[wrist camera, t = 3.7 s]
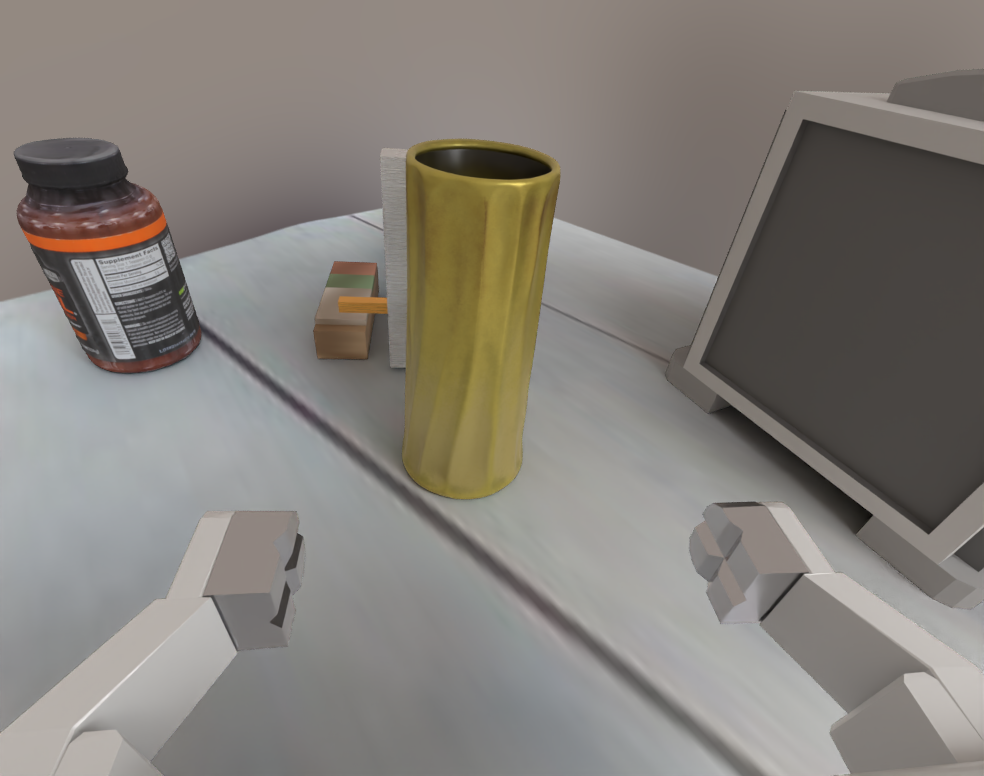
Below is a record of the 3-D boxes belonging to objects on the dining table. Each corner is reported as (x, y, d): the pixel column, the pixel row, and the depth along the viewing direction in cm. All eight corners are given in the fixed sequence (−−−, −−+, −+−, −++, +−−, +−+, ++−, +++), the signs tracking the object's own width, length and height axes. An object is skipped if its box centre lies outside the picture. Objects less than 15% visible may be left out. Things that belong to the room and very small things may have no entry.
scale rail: (378, 290, 38) (377, 261, 37) (367, 359, 31) (364, 326, 30) (338, 289, 38) (334, 259, 36) (317, 358, 31) (312, 325, 29)
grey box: (1084, 515, 26) (1593, 130, 15) (958, 620, 21) (1607, 141, 9) (784, 335, 38) (937, 50, 27) (656, 372, 33) (779, 34, 22)
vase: (405, 413, 28) (397, 129, 19) (514, 415, 28) (557, 142, 19) (398, 502, 23) (382, 178, 14) (529, 501, 24) (594, 192, 15)
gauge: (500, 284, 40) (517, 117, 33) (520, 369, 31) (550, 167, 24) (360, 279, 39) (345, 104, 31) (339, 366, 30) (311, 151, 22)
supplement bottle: (81, 339, 30) (-22, 136, 23) (188, 313, 34) (127, 128, 27) (100, 391, 27) (-14, 171, 20) (217, 357, 30) (155, 157, 23)
